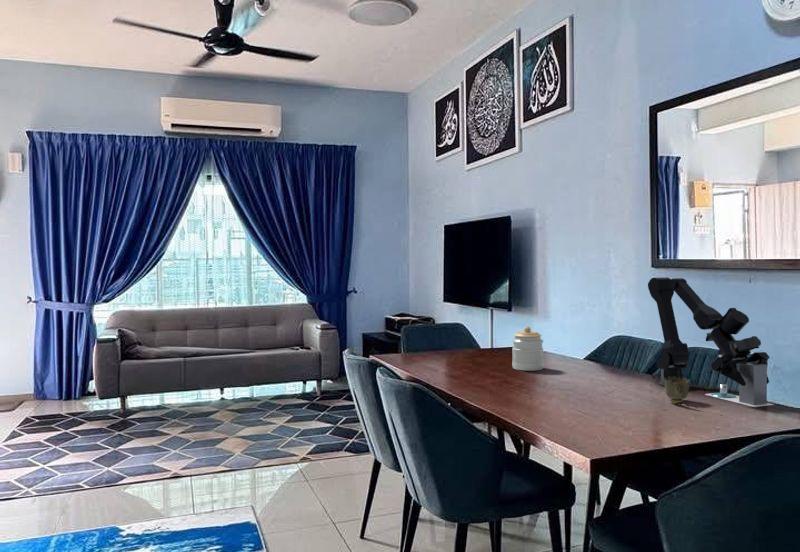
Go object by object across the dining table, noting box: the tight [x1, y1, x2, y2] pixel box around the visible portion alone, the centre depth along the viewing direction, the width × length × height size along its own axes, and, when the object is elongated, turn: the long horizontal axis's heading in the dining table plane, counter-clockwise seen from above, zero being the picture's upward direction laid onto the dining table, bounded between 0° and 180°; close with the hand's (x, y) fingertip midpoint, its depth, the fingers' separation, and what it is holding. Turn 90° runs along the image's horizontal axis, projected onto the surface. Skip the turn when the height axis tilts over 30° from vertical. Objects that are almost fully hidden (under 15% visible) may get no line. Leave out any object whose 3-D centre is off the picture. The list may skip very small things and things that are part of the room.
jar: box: [511, 326, 544, 372], centre depth 259 cm, size 13×13×18 cm
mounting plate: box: [704, 392, 775, 408], centre depth 194 cm, size 19×8×1 cm, turn 19°
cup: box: [664, 376, 691, 406], centre depth 193 cm, size 8×7×8 cm
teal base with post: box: [710, 383, 737, 399], centre depth 200 cm, size 7×7×4 cm
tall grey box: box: [738, 362, 768, 405], centre depth 189 cm, size 5×5×12 cm
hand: (756, 384), depth 188 cm, fingers open, 9 cm apart
